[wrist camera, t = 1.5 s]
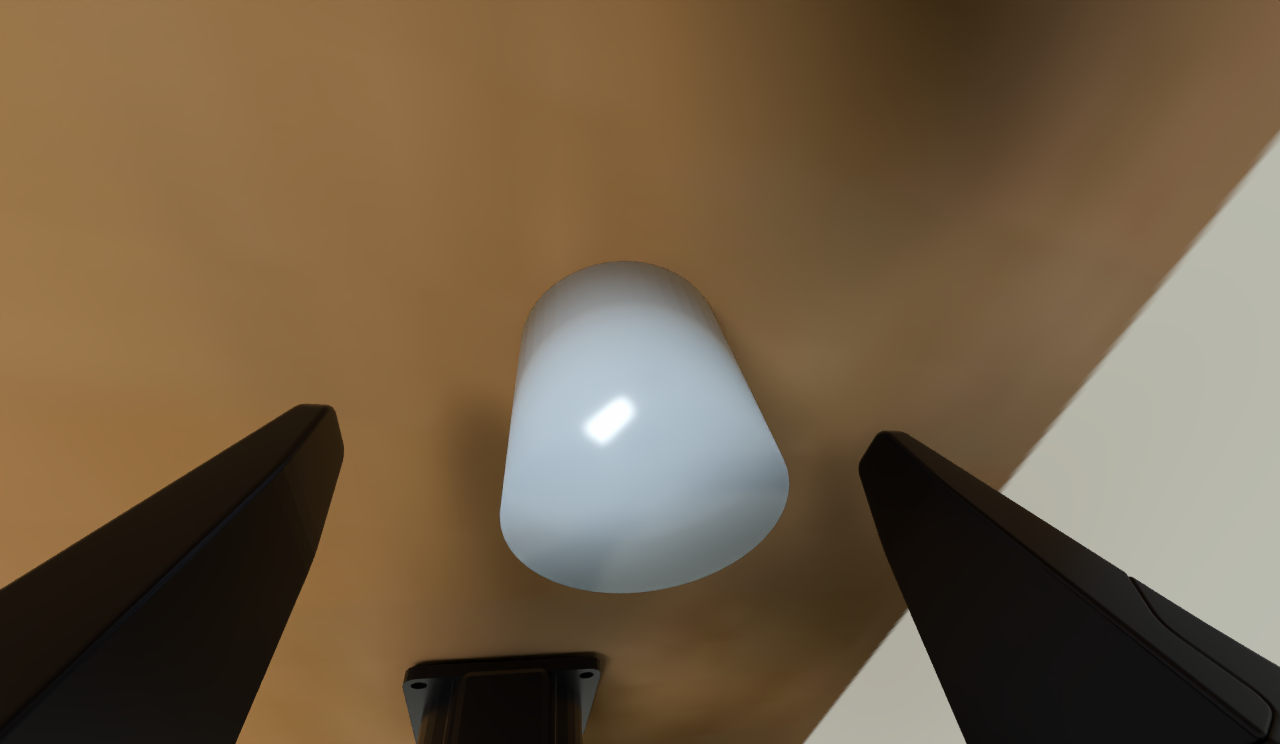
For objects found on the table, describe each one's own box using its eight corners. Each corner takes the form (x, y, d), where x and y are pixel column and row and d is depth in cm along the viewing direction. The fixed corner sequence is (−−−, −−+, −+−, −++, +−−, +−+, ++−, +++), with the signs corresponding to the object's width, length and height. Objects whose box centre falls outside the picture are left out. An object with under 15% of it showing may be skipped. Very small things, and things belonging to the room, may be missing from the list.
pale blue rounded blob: (691, 428, 12) (741, 590, 8) (516, 420, 11) (498, 597, 8) (741, 273, 9) (835, 415, 6) (524, 248, 8) (501, 397, 5)
